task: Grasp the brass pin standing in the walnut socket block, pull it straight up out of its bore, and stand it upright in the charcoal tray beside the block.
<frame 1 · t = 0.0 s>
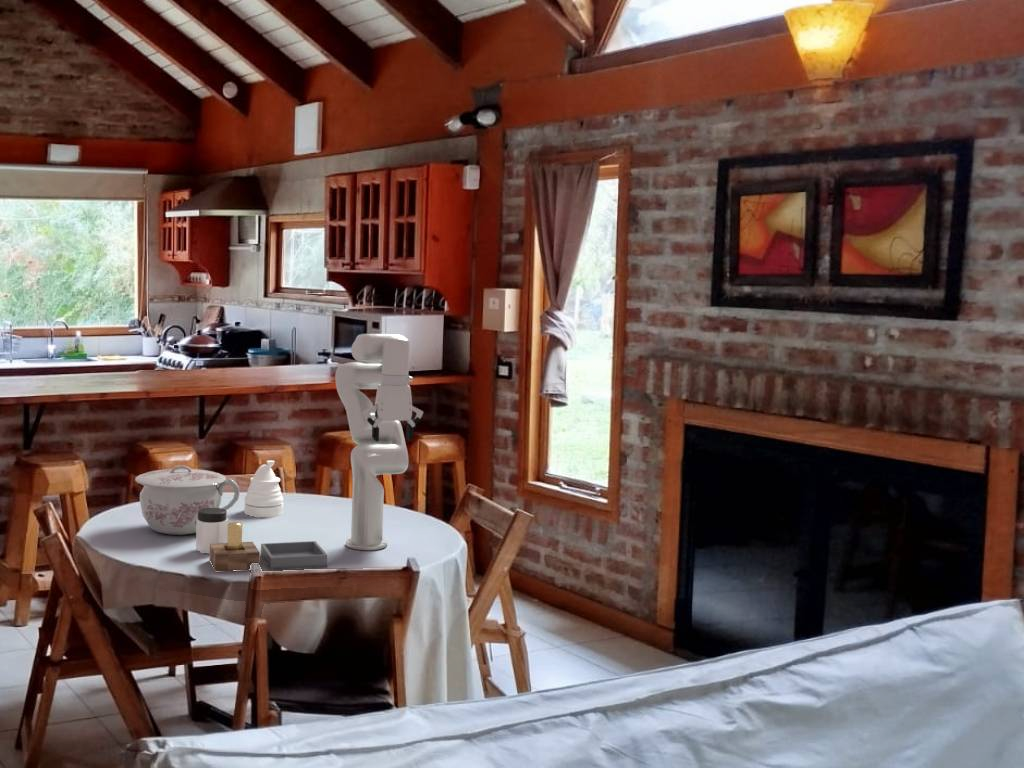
hand: (392, 440, 328), 37 cm above the table, tool pointing down, fingers open, 9 cm apart
tray: (293, 561, 333), on the table
brass pin: (234, 544, 325), in the socket block
honey pot: (263, 513, 390), on the table
jar: (211, 551, 340), on the table
socket block: (234, 565, 326), on the table
chamber pot: (180, 531, 361), on the table
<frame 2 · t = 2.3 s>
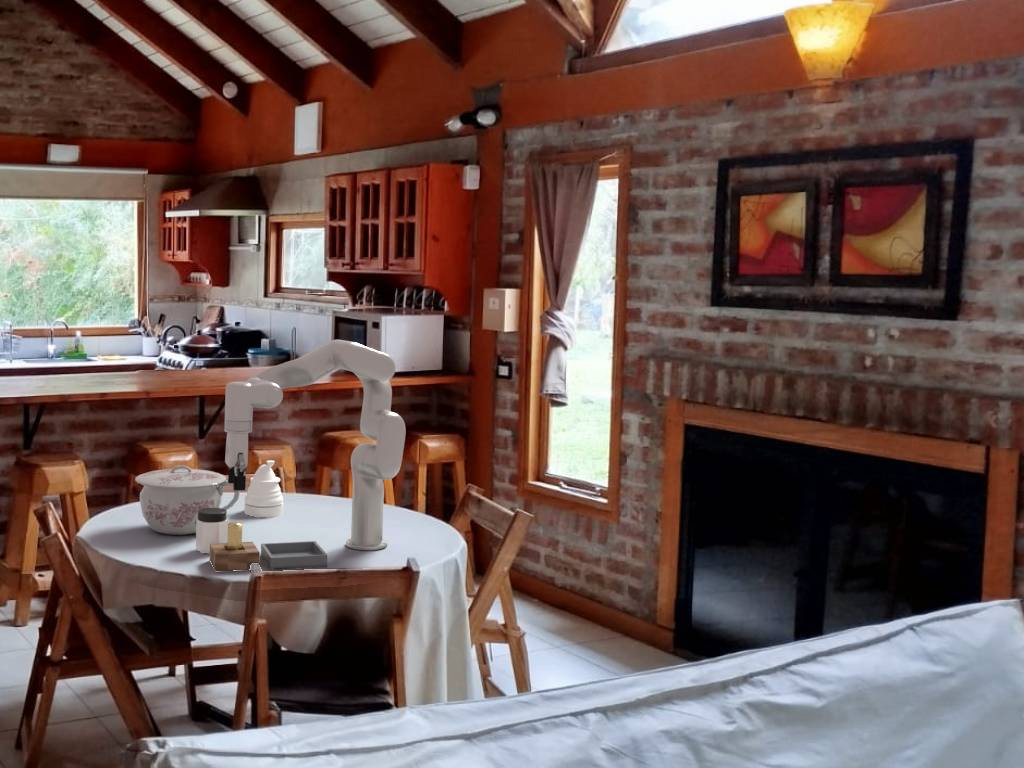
hand: (236, 486, 323), 23 cm above the table, tool pointing down, fingers open, 9 cm apart
nothing on the table moved.
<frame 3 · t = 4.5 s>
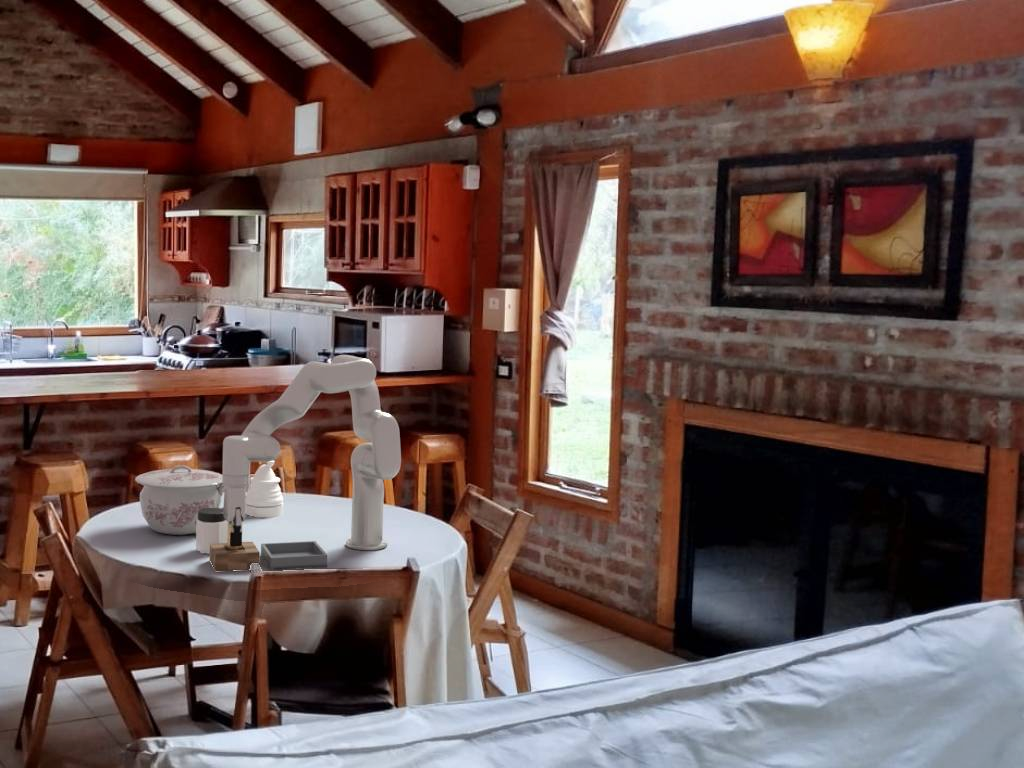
hand: (234, 543, 325), 6 cm above the table, tool pointing down, fingers closed on brass pin, 4 cm apart
brass pin: (234, 544, 325), in the socket block, touching gripper
everything else where it was.
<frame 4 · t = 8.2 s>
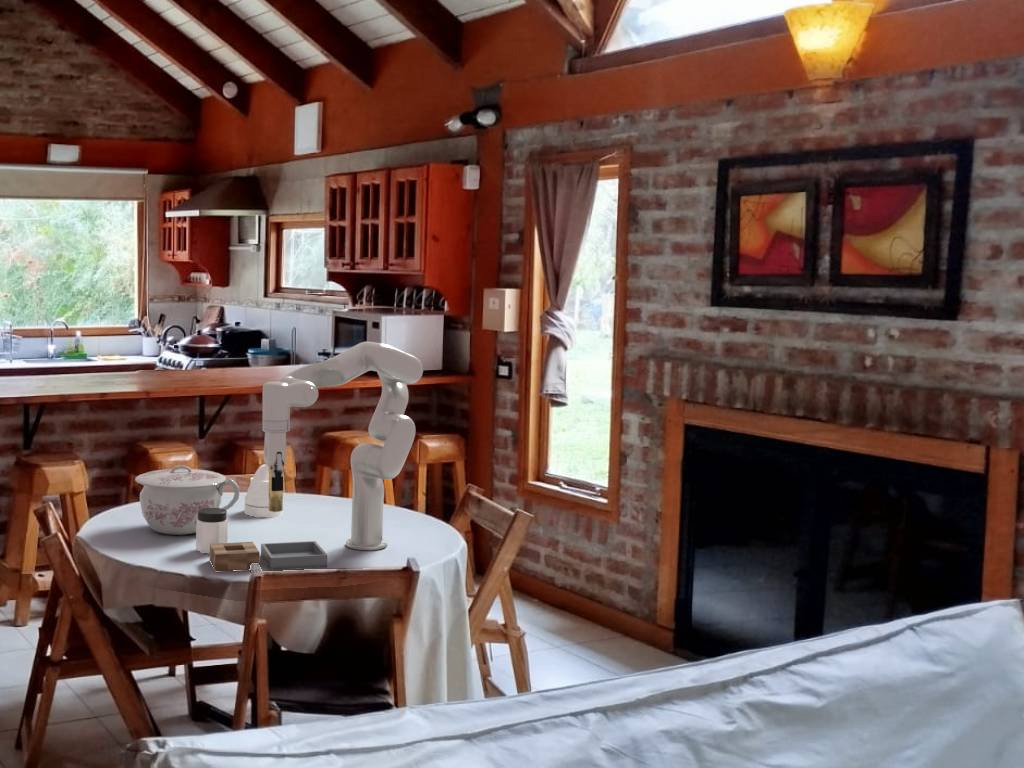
hand: (275, 488, 328), 22 cm above the table, tool pointing down, fingers closed on brass pin, 4 cm apart
brass pin: (275, 489, 328), point 21 cm above the table, touching gripper
everything else where it was.
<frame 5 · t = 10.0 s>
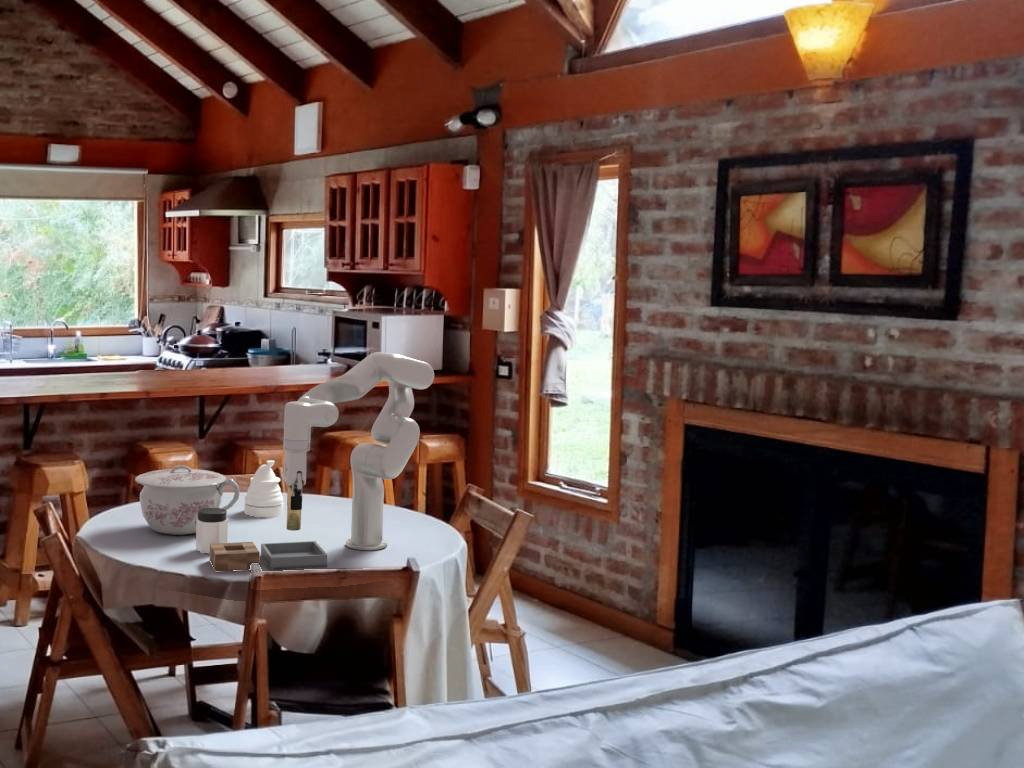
hand: (294, 507, 331), 16 cm above the table, tool pointing down, fingers closed on brass pin, 4 cm apart
brass pin: (294, 508, 331), point 16 cm above the table, touching gripper
everything else where it was.
when the fingers open (8 cm above the table, at t = 11.7 s): brass pin stays where it is, resting on tray.
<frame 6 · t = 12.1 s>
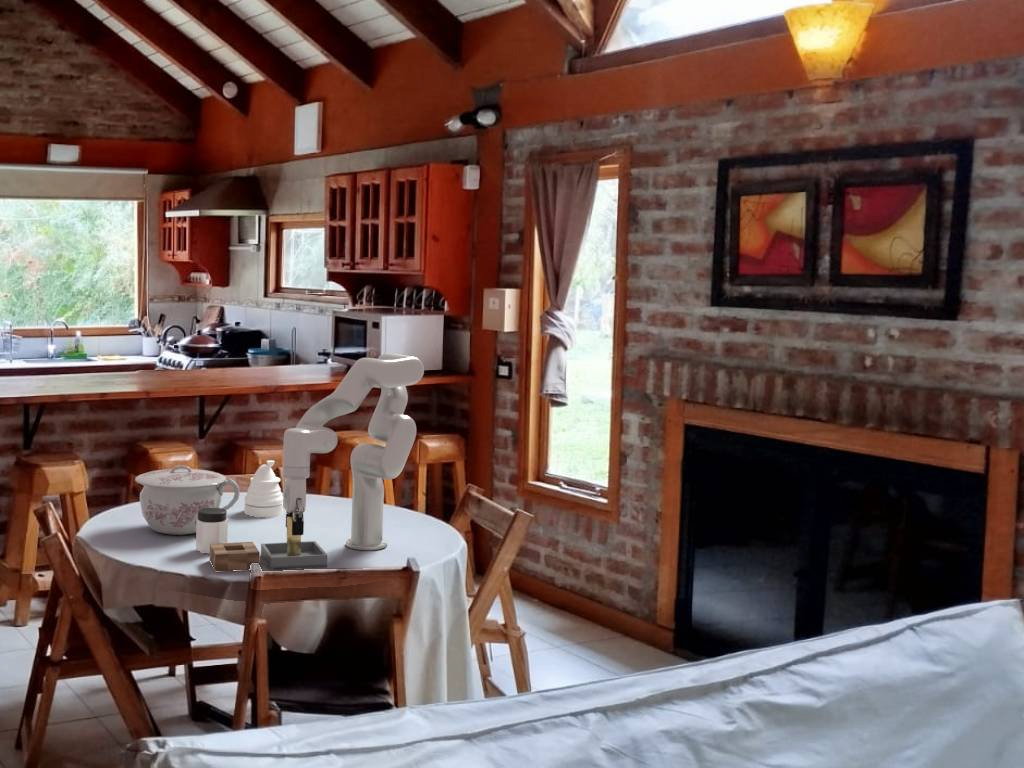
hand: (294, 530, 332), 9 cm above the table, tool pointing down, fingers open, 8 cm apart
brass pin: (293, 537, 332), in the tray, point 7 cm above the table
everything else where it was.
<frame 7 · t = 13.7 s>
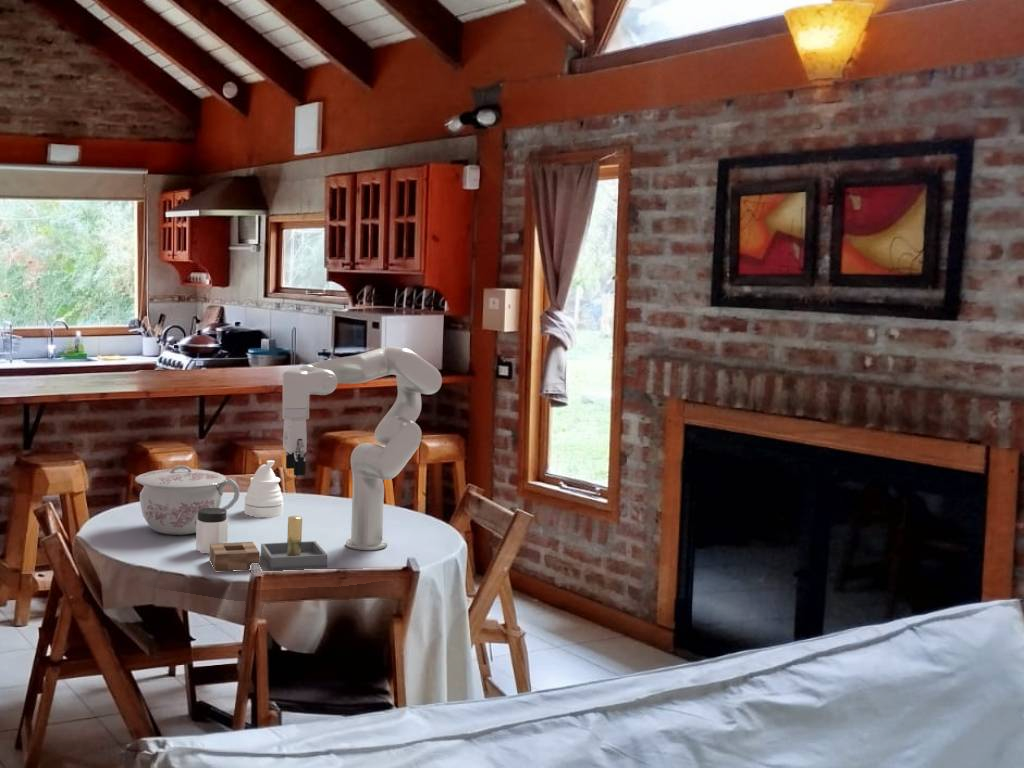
hand: (295, 471, 333), 26 cm above the table, tool pointing down, fingers open, 9 cm apart
nothing on the table moved.
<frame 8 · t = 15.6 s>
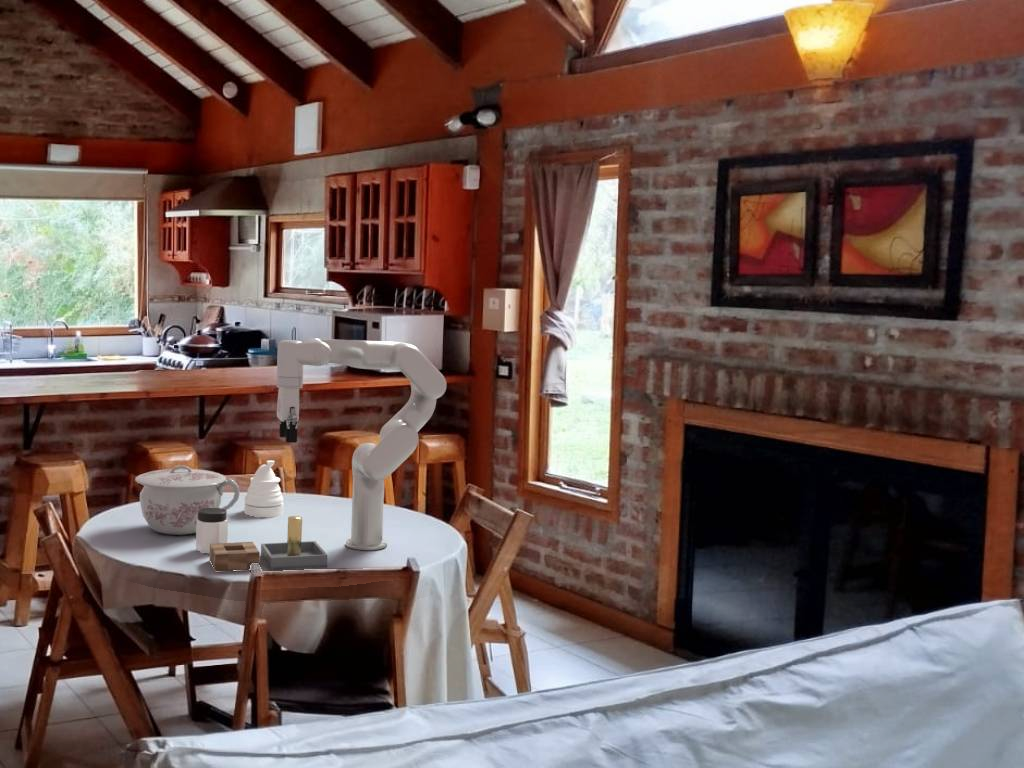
hand: (288, 439, 341), 33 cm above the table, tool pointing down, fingers open, 9 cm apart
nothing on the table moved.
at the end: brass pin inside the target area on the tray (0.0 cm from its centre), point 6.8 cm above the tray's base; brass pin tilted 0°; the gripper is holding nothing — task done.
